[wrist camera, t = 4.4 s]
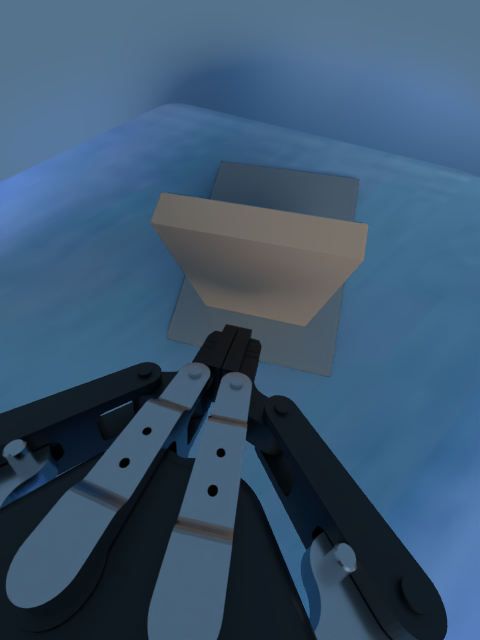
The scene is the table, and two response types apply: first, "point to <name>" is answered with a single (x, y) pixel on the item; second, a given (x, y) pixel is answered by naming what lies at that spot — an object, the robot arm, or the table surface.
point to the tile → (259, 255)
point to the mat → (275, 336)
